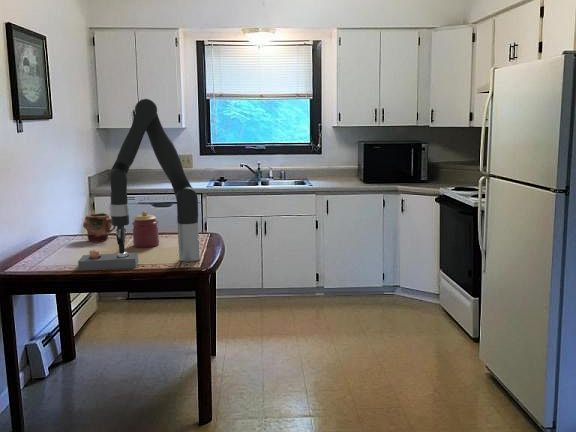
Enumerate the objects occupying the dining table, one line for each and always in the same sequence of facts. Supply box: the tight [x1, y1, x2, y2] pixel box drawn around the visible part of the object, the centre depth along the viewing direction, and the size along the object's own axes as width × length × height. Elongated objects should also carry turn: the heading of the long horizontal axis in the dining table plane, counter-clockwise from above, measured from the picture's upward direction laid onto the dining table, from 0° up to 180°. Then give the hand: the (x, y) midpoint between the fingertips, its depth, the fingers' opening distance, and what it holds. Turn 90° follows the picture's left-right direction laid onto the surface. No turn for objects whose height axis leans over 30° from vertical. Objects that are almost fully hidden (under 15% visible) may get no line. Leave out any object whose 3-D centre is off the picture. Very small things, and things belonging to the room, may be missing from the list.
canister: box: [131, 210, 160, 249], centre depth 312 cm, size 13×13×18 cm
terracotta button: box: [89, 249, 100, 259], centre depth 271 cm, size 4×4×3 cm
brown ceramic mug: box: [82, 212, 117, 243], centre depth 327 cm, size 20×12×14 cm, turn 76°
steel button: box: [117, 251, 128, 258], centre depth 273 cm, size 4×4×3 cm
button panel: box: [77, 252, 139, 271], centre depth 273 cm, size 24×12×4 cm, turn 98°
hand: (122, 252), depth 273 cm, fingers closed
